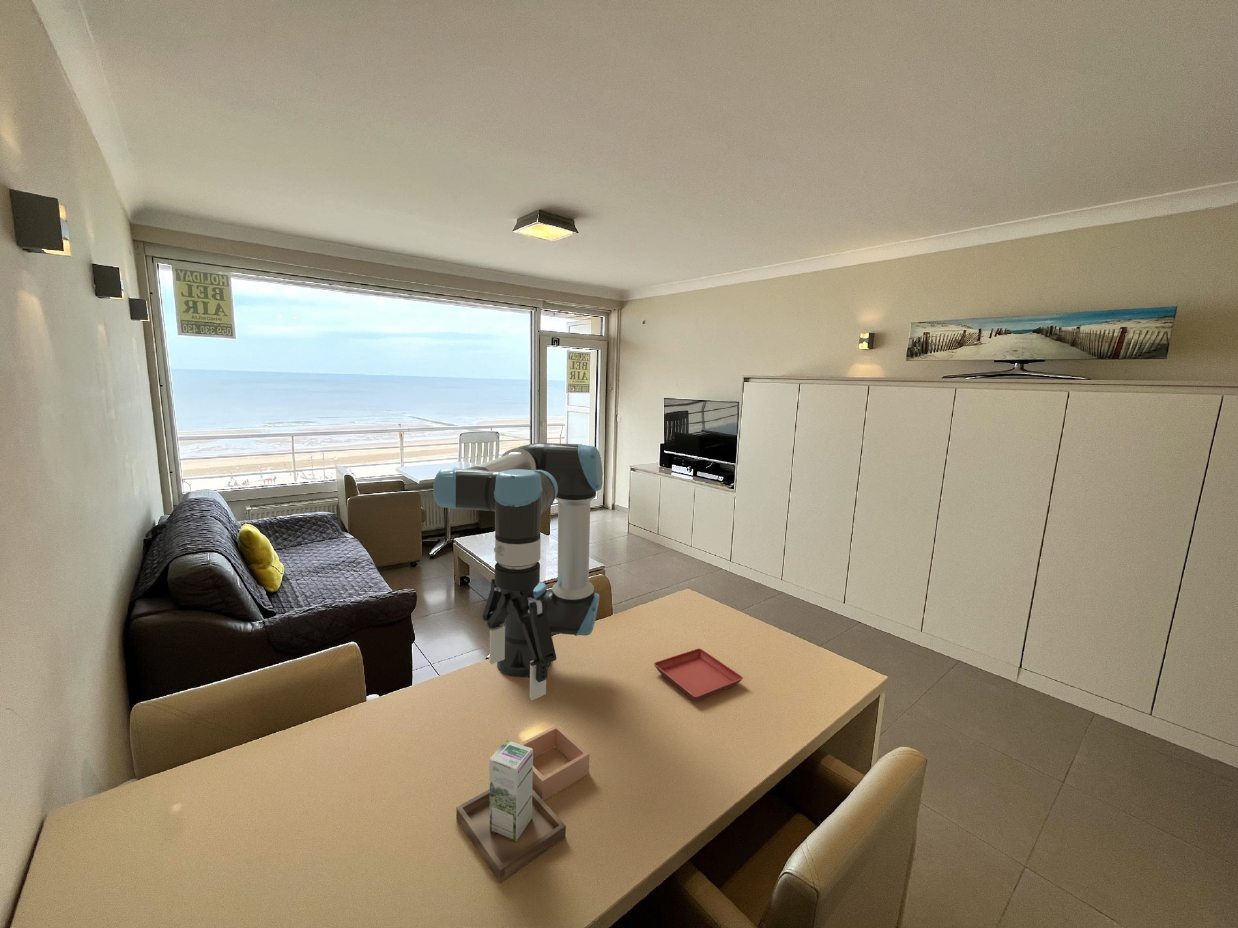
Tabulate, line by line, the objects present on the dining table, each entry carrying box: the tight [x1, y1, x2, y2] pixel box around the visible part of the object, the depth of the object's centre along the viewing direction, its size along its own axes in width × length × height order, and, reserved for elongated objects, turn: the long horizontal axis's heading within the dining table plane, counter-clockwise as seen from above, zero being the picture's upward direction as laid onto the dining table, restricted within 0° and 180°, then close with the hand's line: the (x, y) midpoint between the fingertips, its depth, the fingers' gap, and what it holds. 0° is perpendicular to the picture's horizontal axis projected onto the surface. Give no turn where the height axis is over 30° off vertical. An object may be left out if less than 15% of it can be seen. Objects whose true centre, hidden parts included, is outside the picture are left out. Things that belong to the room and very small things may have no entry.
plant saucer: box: [653, 647, 744, 702], centre depth 141 cm, size 18×18×3 cm
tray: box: [455, 788, 567, 884], centre depth 91 cm, size 16×13×2 cm
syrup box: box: [489, 739, 534, 841], centre depth 90 cm, size 6×6×14 cm
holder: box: [519, 724, 591, 802], centre depth 105 cm, size 12×12×4 cm
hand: (516, 677), depth 89 cm, fingers open, 13 cm apart
